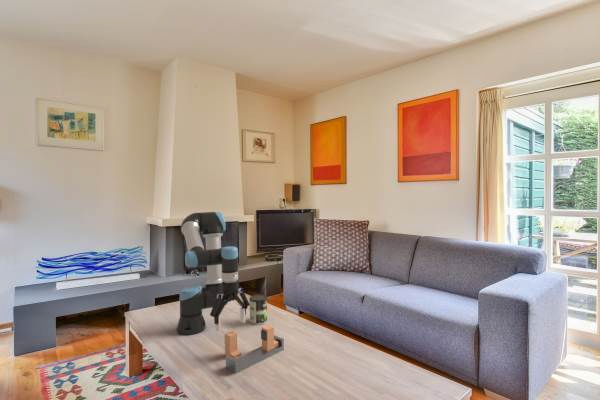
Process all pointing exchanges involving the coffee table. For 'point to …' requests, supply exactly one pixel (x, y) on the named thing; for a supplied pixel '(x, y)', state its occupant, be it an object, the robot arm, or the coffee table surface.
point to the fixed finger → (268, 338)
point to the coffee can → (258, 309)
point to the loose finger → (231, 345)
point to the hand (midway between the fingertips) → (230, 326)
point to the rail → (252, 357)
